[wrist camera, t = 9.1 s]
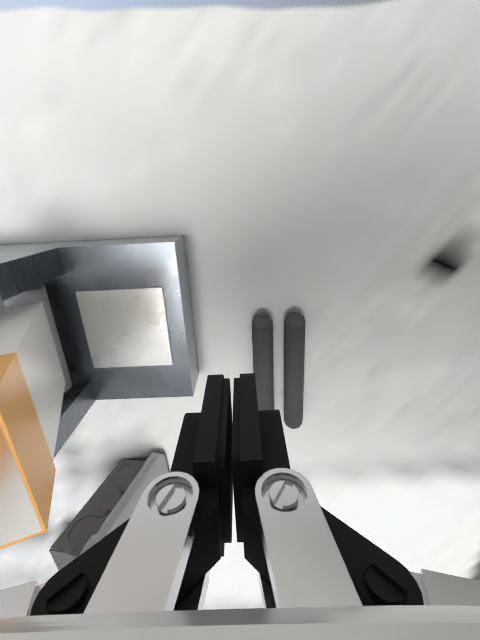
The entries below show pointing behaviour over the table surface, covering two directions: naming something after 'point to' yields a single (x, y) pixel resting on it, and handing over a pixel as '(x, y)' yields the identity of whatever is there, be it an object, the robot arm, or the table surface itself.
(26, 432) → the breaker lever
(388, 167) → the table surface
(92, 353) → the double window frame
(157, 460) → the electrical switch
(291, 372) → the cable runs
